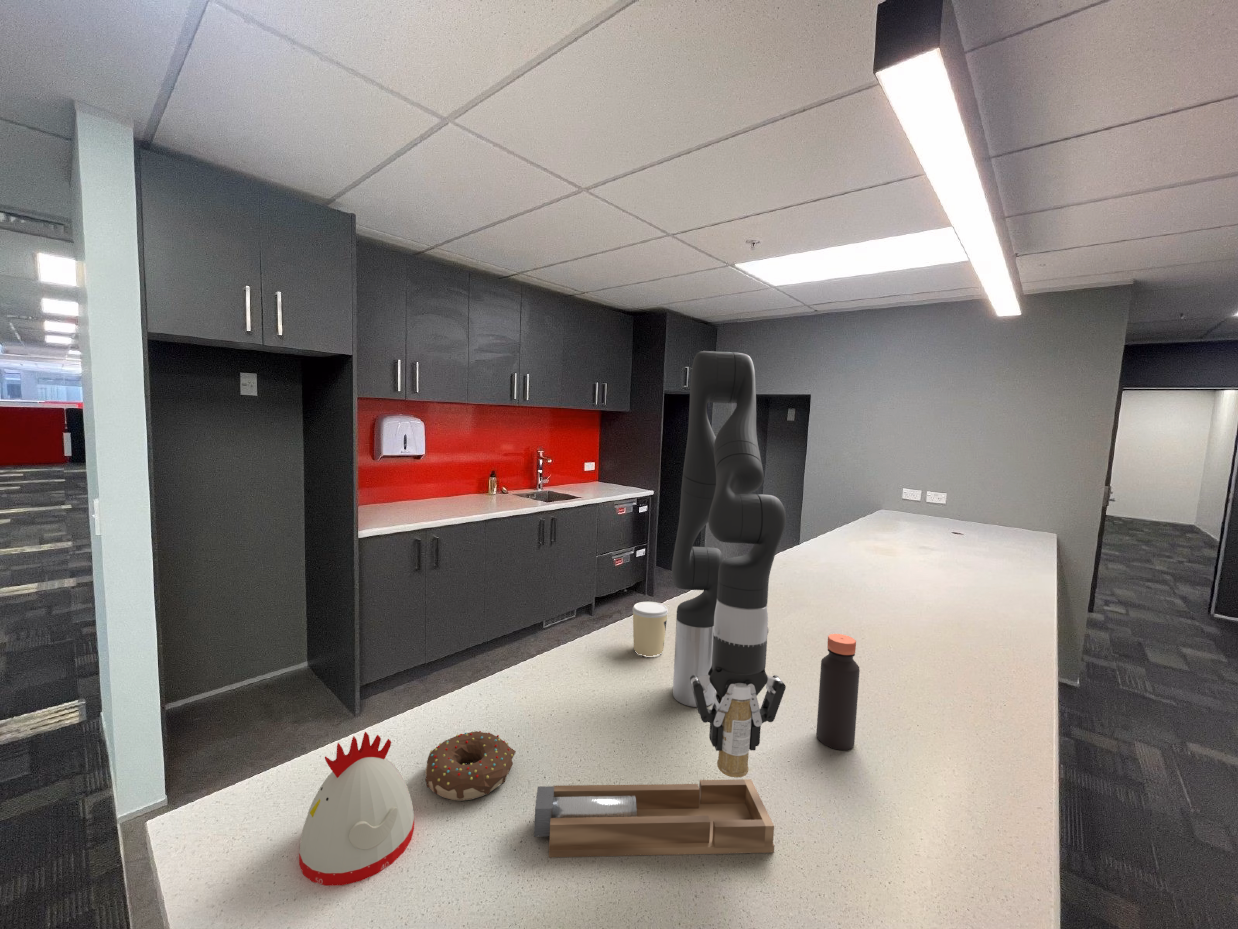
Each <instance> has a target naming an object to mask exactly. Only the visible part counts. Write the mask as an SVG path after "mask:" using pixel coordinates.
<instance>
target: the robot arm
mask: <svg viewBox="0 0 1238 929" xmlns="http://www.w3.org/2000/svg"><path fill="white" fill-rule="evenodd" d="M756 385H757V384H756V371H755V366H754V362H753V360H752V358H751V356H749V354H746V353H743V352H736V351H735V352H734V351H733V352H730V351H714V350H713V351H712V350H711V351H709V350H703V351H702V350H701V351H698V352H697V353H696V354H695V355H694V358H693V361H692V366H691V373H690V384H689V386H690V387H689V410H688V411H689V412H688V432H687V439H686V440H687V441H686V446H685V447H686V448H685V455H684V463H683V469H682V470H683V471H682V480H681V481H682V482H681V487H680V488H681V491H680V493H681V494H680V504H679V505H680V508H679V519H678V527H677V531H676V537H675V538H676V540H675V543H674V549H673V557H672V563H671V578H672V583H673V585H674V586H675V587H676V588H678V589H680V590H686V591H688V590H689V591H702V592H701V593H700V594H698V595H697V596H696V597H693V598H690V599H688V600H684V601H682V602H681V603H679V604H678V606H677V608H676V615H675V616H676V618H675V619H676V620H675V641H674V643H675V644H674V659H673V660H674V661H673V662H674V664H673V681H672V682H673V683H672V697H673V698H674V699H675V700H676V701H677V702H679V703H680V704H682V705H685V706H688V707H693V708H696V710H697V712H698V715H699V716H700V720H701V721H702V722H703V723H705V724H706V723H709V736H708V738H709V741H710V743H711V745H712V747H713V748H714V749H715V751H716V752H717V751H718V752H719V751H721V750H722V736H723V726H722V721H723V719H724V716H725V713H727V712H728V710H729V707H730V704H731V700H732V698H730V695H732V694H733V688H734V687H736V684H735V683H745V684H746V686H748V687H750V688H751V692H750V693H751V695H752V698H750V708H751V732H750V748H749V751H756V749H757V747H759V745H760V743H761V726H762V725H763V724H764V723H766V722H768V723H773V722H774V721H775V719H776V717H777V714H778V711H779V707H780V705H781V702H782V700H783V697H784V695H785V690H786V687H787V685H786V683H785V682H784V681H783V680H782V679H781V678H780V677H779V675H777V674H775V675H773V676H770V675H768V674H767V673H766V666H767V649H768V648H767V647H768V635H769V613H768V601H769V600H768V596H769V582H770V580H769V579H770V574H771V570H772V567H773V563H774V560H775V557H776V553H777V550H778V548H779V546H780V543H781V540H782V537H783V534H784V532H785V528H786V524H787V515H786V514H787V513H786V510H785V509H786V508H785V506H784V504H783V502H781V500H780V499H779V498H778V497H776V496H775V495H771V494H759V493H758V494H756V493H753V492H755V491H758V489H760V487H761V486H762V484H763V483H764V477H765V476H764V475H765V474H764V470H763V464H762V459H761V452H760V448H759V444H758V435H757V395H756V394H757V391H756V388H757V387H756ZM708 403H715V404H736V406H735V409H734V411H733V412H732V414H730V417H728V419H727V420H726V421H725V422H724V424H723V425H722V427H721V428H720V429H719V431H718V432H717V435H715V433H714V430H713V428H712V425H711V424H710V420H709V416H708ZM707 524H708V527H709V531H710V533H711V534H712V535H713V537H714V538H715V539H716V540H718V541H719V542H721V543H725V544H727V543H729V544H749V545H750V544H752V545H753V546H752V547H751V549H750V551H748V552H747V553H745V554H743V555H739V556H733V557H729V558H725V559H724V555H723V552H722V551H721V550H720V549H719V548H717V547H711V546H710V547H709V546H693V545H694V543H695V541H696V539H697V537H698V535H699V534H700V532H701V531H702V530H703V529H704V527H705V526H706V525H707ZM764 688H765V689H766V692H765V695H764V698H763V701H762V704H761V706H759V705H760V704H759V700H758V695H759V694H760V693H761V691H762V690H763V689H764ZM710 705H711V707H710V708H708V707H709V706H710Z"/></svg>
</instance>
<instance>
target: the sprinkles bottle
mask: <svg viewBox="0 0 1238 929" xmlns="http://www.w3.org/2000/svg"><path fill="white" fill-rule="evenodd" d="M735 684H736V687H734V688H733V694H732V695H730V698H732V700H731V704H730V707H729V710H728V712H727V713H725V716H724V719H723V721H722V726H723V736H722V750H721V751H718V755H717V756H718V759H717V762H716V764H717V765H716V766H717V769H718V770H719V772H721V774H724V775H725V776H727V777H729V778H742V777H746V776H747V774H748V773H749V771H750V770H749V768H750V767H749V756H750V755H749V752H750V749H749V748H750V732H751V708H750V698H752V695H751V693H750V692H751V688H750V687H748V686H746V684H745V683H735Z"/></svg>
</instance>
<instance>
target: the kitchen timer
mask: <svg viewBox="0 0 1238 929" xmlns="http://www.w3.org/2000/svg"><path fill="white" fill-rule="evenodd" d="M381 739H382V738H381V737H380V735H379V734H377V735H376V736H375V737H374V739H373V742H372V743H371V741H370V736H369V733H368V732H367V731H364V733H363V736H362V740H361V745H360V748H359V746H358V745H359V744H358V740H357V738H356V737H355V735H353V736H352V738H351V742H350V747H349V751H348V753H347V754H345V751H344V749H343V747H342V746H341V744H340V743H339V742H337V745H336V754H335V755H336V757H335V759H334V760H332V759H330V758H329V757H327V756H324V760H325V762H326V764H327V765H328V768H329V769H330V770H331V772H330V774H329V775H328V776H327V777H326V778H325V780H324V781H323V782H322V784H321V786H320V787H319V789H318V790H317V793H316V795H315V796H314V798H313V800H312V802H311V805H310V806H309V810H308V813H307V815H306V817H305V821H304V824H303V827H302V831H301V836H300V843H299V852H298V855H299V856H298V858H299V860H298V863H299V867H300V870H301V873H302V875H303V876H304V877H305V878H307V879H308V880H309V881H310V882H312V883H315V884H318V885H322V886H345V885H349V884H353V883H359V882H362V881H364V880H366V879H368V878H370V877H373V876H375V875H378V874H379V873H381V872H382V871H383V870H385V869H387V868H388V867H389V866H390V865H393V863H394V862H396V860H398V859H399V858H400V857H401V855H403V854H404V852H405V851H406V849H407V848H408V846H409V844H410V843H411V841H412V838H413V834H414V831H415V812H414V807H413V802H412V796H411V794H410V791H409V787H408V786H407V782H406V780H405V778H404V776H403V774H402V773H401V771H399V769H398V767H397V766H396V765H395V764H394V763H393V762H392V761H391V760H390V759H388V758H386V757H387V755H388V754H389V750H390V748H391V746H392V741H391V739H390V738H387V740H386V742H385V743H384V745H383V746H382V748H381V749H380V750H379V748H380V744H381Z"/></svg>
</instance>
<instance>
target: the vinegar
mask: <svg viewBox="0 0 1238 929" xmlns="http://www.w3.org/2000/svg"><path fill="white" fill-rule="evenodd" d="M856 645H857V640H856V639H855V638H853V637H851V636H849V635H846V634H842V633H831V634H829V635H827V651H828V654H827V655H825V656H824V657H823V658H822V659H821V661H820V672H819V673H820V674H819V688H818V690H819V691H818V704H817V718H816V737H817V739H818V740H819V741H820V742H821V744H823V745H824V746H826V747H828V748H830V749H834V750H837V751H848V750H850V749H852V748H853V747H854V745H855V743H856V741H855V740H856V728H857V715H858V714H857V713H858V712H857V711H858V698H859V696H858V695H859V683H860V666H859V664H858V663H857V662H856V661H855V660H854V657H855V655H856V649H857V648H856Z"/></svg>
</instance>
